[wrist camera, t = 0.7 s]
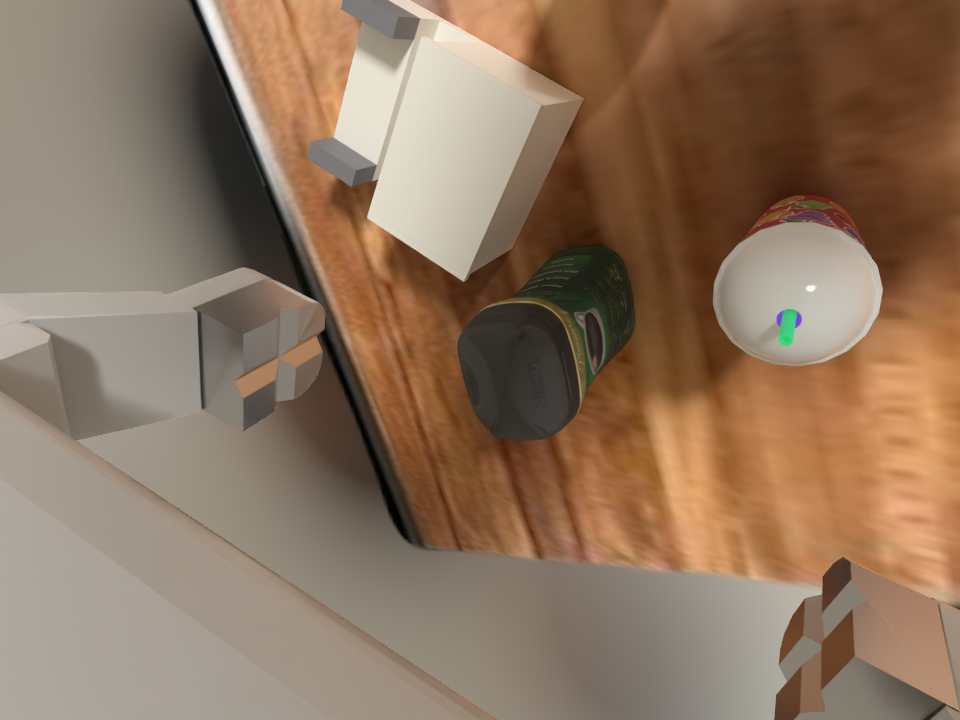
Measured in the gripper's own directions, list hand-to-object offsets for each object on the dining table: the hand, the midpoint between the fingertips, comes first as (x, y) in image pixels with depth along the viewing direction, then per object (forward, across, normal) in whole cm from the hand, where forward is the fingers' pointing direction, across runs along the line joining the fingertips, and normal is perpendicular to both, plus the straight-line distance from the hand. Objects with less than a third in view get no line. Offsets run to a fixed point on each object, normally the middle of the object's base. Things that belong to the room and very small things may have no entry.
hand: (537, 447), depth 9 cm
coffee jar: (+43, +8, +17) cm, 47 cm away
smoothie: (+43, -5, +6) cm, 44 cm away
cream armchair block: (+43, +24, +6) cm, 50 cm away
